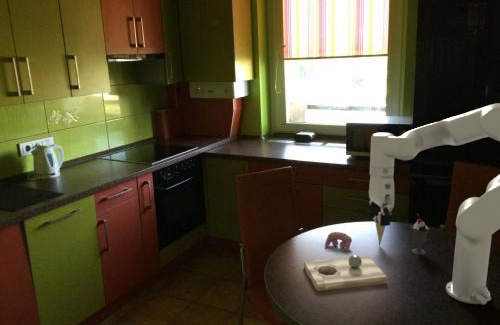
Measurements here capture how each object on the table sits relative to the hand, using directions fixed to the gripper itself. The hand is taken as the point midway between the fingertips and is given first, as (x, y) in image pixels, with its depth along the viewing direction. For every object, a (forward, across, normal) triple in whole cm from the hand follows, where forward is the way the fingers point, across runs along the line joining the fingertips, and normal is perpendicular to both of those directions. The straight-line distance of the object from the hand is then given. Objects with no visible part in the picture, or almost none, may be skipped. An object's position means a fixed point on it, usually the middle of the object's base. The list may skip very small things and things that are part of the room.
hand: (379, 220), depth 148 cm
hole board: (+20, +1, +12) cm, 23 cm away
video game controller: (+20, +23, +6) cm, 31 cm away
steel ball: (+15, +1, +8) cm, 17 cm away
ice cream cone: (+20, +20, -10) cm, 31 cm away
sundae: (+20, +12, -22) cm, 33 cm away
